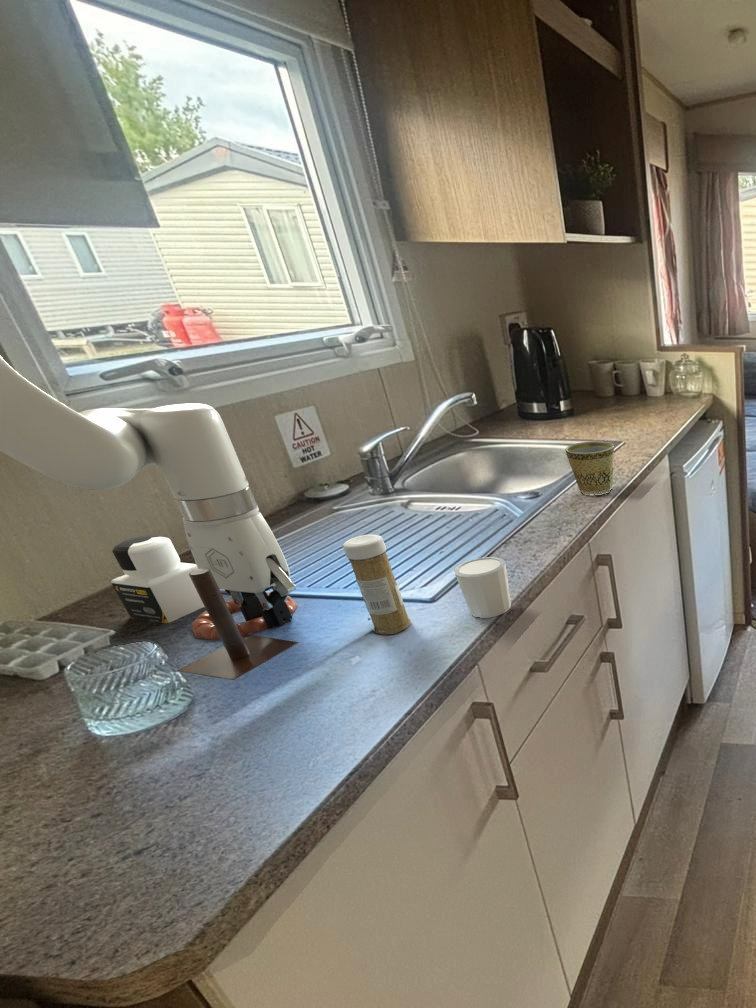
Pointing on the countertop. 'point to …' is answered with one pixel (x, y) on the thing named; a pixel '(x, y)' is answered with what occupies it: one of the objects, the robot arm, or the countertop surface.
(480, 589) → the white tapered tub
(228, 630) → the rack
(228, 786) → the countertop surface
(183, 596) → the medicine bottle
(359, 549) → the sprinkles bottle
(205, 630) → the ring
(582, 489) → the ceramic cup
